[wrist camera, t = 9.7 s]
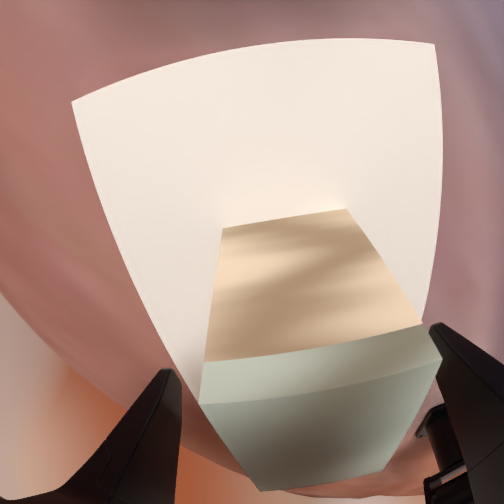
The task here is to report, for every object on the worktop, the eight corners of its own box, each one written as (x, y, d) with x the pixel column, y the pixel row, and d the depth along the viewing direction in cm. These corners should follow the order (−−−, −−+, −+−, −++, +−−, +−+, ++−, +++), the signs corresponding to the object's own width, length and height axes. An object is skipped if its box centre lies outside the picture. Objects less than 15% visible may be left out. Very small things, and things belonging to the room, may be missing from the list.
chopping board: (396, 372, 18) (401, 385, 17) (208, 402, 19) (207, 417, 18) (418, 46, 8) (434, 44, 7) (86, 99, 9) (71, 101, 8)
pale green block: (346, 208, 10) (443, 359, 4) (346, 341, 14) (382, 470, 8) (222, 228, 11) (198, 404, 5) (255, 355, 14) (260, 491, 8)
